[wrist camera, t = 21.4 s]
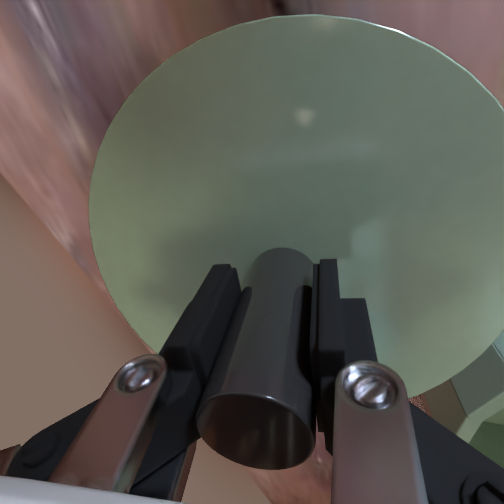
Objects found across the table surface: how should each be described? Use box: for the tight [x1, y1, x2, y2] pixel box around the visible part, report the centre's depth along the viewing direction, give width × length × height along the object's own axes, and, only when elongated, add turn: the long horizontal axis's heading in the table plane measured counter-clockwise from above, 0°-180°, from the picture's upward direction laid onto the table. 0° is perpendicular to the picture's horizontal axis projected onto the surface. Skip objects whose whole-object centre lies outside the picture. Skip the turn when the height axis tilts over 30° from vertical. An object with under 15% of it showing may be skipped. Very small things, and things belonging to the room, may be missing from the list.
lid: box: [89, 14, 504, 470], centre depth 10 cm, size 16×16×7 cm
